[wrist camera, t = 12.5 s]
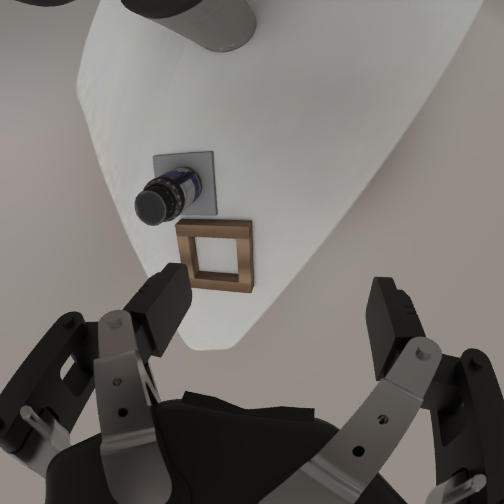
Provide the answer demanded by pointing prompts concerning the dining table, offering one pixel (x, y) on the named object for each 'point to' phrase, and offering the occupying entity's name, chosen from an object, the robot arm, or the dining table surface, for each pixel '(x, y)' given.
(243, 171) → the dining table surface
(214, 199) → the grey pad
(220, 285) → the walnut holder
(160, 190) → the pill bottle
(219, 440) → the robot arm
